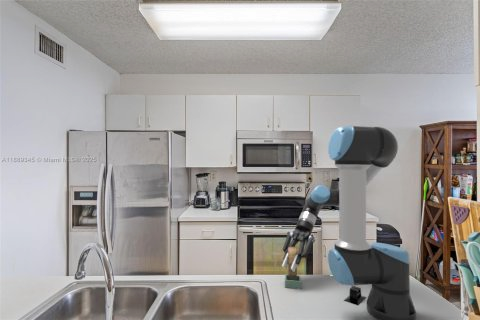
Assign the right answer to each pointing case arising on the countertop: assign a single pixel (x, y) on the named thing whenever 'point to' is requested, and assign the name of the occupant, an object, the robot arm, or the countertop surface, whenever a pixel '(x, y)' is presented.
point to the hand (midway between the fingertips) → (288, 269)
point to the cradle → (293, 282)
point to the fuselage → (291, 261)
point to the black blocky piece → (355, 296)
